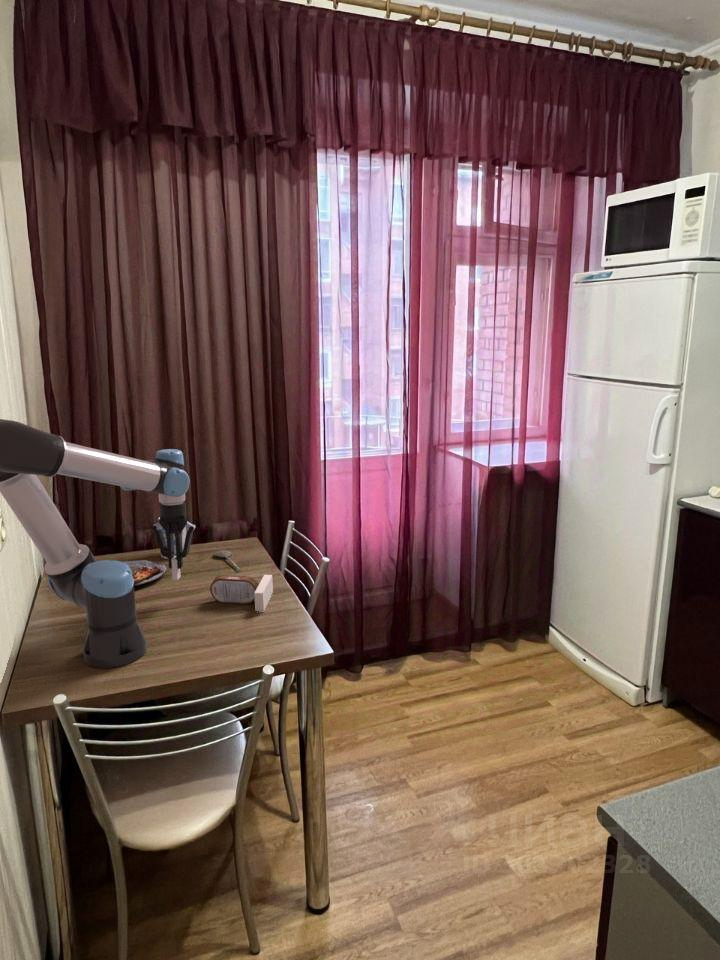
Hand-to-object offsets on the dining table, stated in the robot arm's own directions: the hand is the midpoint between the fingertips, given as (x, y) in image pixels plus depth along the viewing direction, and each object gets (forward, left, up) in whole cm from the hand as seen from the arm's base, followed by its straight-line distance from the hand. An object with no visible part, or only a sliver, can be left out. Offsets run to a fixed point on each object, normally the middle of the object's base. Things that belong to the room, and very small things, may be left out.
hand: (176, 578), depth 190 cm
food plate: (+19, +24, -8) cm, 31 cm away
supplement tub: (+41, +15, -8) cm, 44 cm away
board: (+1, -26, -8) cm, 27 cm away
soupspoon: (+34, -6, -8) cm, 36 cm away
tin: (0, -17, -8) cm, 19 cm away
